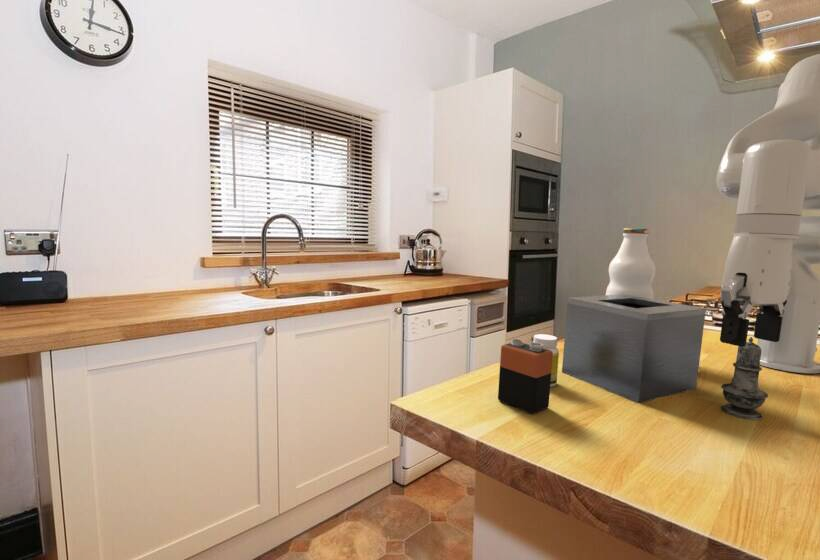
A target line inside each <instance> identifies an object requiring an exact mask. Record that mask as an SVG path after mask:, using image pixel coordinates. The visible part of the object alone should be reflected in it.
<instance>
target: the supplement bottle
mask: <svg viewBox="0 0 820 560" xmlns="http://www.w3.org/2000/svg"><path fill="white" fill-rule="evenodd" d="M532 342H534V343H541V344H542V345H544V349H548V350H551V351H552V352H553V357H552V369H551V382H550V388H552V387H555V386H556V385H557V383H558V382H557V381H558V369H559V367H558V366H559V355H560V353H559V349H558V348H557V346H558V337H556V336H554V335H552V334H551V335H550V334H547V333H546V334H542V333H541V334H540V333H539V334H534V335H533V341H532Z"/></svg>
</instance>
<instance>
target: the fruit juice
mask: <svg viewBox="0 0 820 560" xmlns="http://www.w3.org/2000/svg"><path fill="white" fill-rule="evenodd" d="M622 236H623V239H622V242H621V244H620V247H619V249H618V251H617V253H616V255H615V256H614V257H613V258H612V260H611V261H610V262H609V266H608V276H609V283H608V284H607V287H606V290H605V295H618V294H626V295H632V296H637V297H643V298H649V299H655V297H654V289H653V286H652V285H653V284H652V283H653V281H654V278H655V276H656V269H657V268H656V264H655V262H654V261H653V259H652V258H651V256H650V252H649V248H648V243H647V238H648V237H649V229H648V228H636V227H635V228H630V227H625V228H623V229H622Z"/></svg>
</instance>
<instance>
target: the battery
mask: <svg viewBox="0 0 820 560" xmlns="http://www.w3.org/2000/svg"><path fill="white" fill-rule="evenodd" d="M552 357H553V352H552V351H551V350H548V349H544V345H542V344H541V343H534V342H533V341H532V342H529V343H526V342H525V343H524V342H523V340H522V339H519V338H513V339H512V342H510V343H504V344H502V345H501V347H500V359H499V360H500V361H499V373H498V374H499V375H498V391H497V392H498V393H497V399H498V401H500V402H502V403H504V404H506V405H509V406H510V407H514V408H516V409H518V410H521V411H524V412H527V413H529V414H531V415H534V414H536V413H539V412H541V411H543V410H546V409H548V408H549V406H550V405H549V403H550V392H551V387H550V382H551V369H552Z"/></svg>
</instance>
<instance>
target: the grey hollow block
mask: <svg viewBox="0 0 820 560" xmlns="http://www.w3.org/2000/svg"><path fill="white" fill-rule="evenodd" d="M566 304H567V305H566V306H567V307H566V316H565V328H564V329H565V330H564V331H565V332H564V341H563V342H564V344H563V351H562V353H563V355H562V363H561V365H562V367H561V373H564V374H566V375H568V376H571V377H573V378H576V379H578V380H581V381H583V382H585V383H588V384H590V385H593V386H596V387H598V388H601V389H603V390H606V391H607V392H610V393H612V394H615V395H618V396H620V397H623V398H625V399H628V400H630V401H633V402H636V403H643V402H648V401H651V400H655V399H659V398H664V397H669V396H672V395H676V394H680V393H685V392H688V391H693V390H697V384H698V375H699V370H700V369H699V367H700V362H701V361H700V359H701V354H702V353H701V352H702V344H703V335H704V328H705V320H706V319H705V318H706V312H707V311H706V310H707V308H705V307H700V306H694V305H689V304H682V303H677V302H671V301H665V300H659V299H655V298H653V299H649V298H643V297H637V296H632V295H626V294H618V295H606V294H604V295H591V296H577V297H576V296H574V297H568V298H567V303H566Z"/></svg>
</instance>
